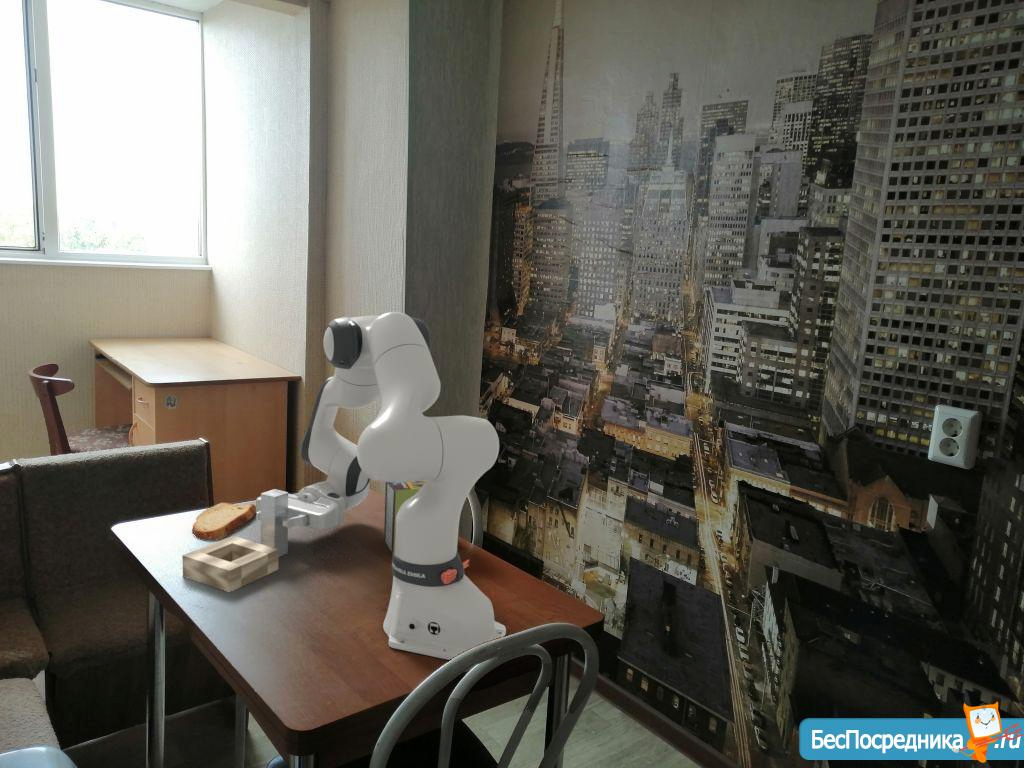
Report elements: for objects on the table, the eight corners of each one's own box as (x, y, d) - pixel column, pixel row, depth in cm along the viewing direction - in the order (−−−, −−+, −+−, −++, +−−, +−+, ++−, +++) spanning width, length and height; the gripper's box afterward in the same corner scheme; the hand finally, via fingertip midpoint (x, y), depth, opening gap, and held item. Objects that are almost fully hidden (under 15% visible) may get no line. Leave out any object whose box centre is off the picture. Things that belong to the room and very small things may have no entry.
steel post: (287, 553, 165) (288, 492, 163) (274, 559, 162) (274, 497, 159) (274, 549, 167) (274, 488, 165) (260, 554, 164) (260, 493, 161)
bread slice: (202, 544, 168) (202, 528, 168) (175, 520, 181) (174, 506, 181) (278, 528, 180) (278, 513, 180) (247, 507, 193) (247, 493, 193)
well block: (278, 569, 157) (278, 549, 156) (229, 592, 145) (229, 570, 145) (233, 555, 162) (233, 535, 162) (182, 576, 151) (182, 555, 150)
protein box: (458, 550, 173) (461, 485, 170) (392, 556, 167) (395, 489, 164) (445, 533, 182) (448, 472, 180) (382, 539, 177) (384, 476, 174)
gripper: (281, 482, 179) (236, 497, 166) (349, 499, 170) (307, 516, 157) (281, 507, 180) (236, 524, 167) (349, 525, 171) (307, 544, 158)
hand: (271, 520), depth 162 cm, fingers open, 6 cm apart
